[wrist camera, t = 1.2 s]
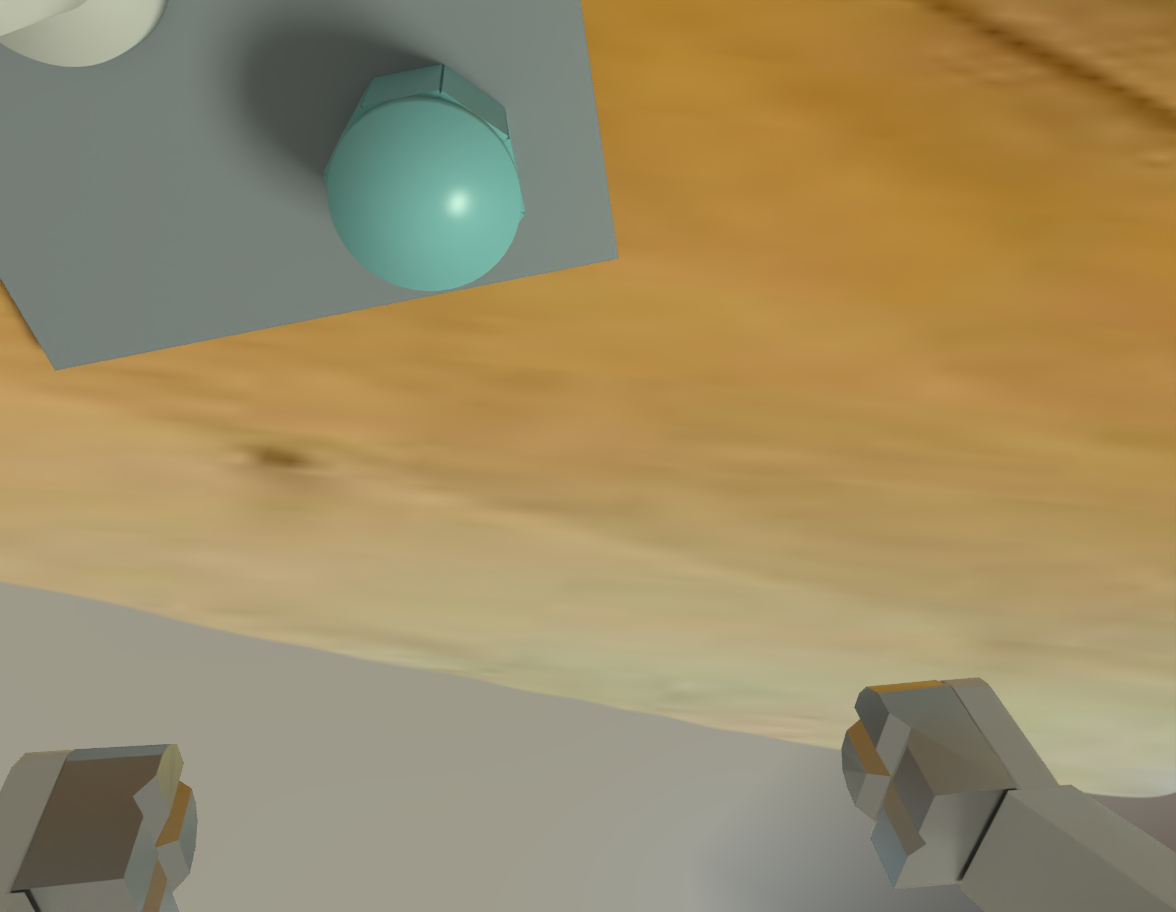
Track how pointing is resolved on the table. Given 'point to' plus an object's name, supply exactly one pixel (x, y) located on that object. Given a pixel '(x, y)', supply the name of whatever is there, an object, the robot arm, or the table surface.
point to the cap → (425, 180)
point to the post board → (254, 156)
